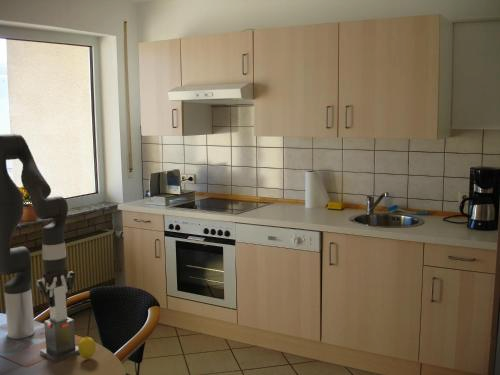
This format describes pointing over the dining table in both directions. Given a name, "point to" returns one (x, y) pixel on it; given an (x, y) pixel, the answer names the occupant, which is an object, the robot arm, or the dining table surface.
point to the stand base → (59, 341)
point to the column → (58, 305)
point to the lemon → (87, 347)
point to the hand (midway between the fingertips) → (57, 304)
